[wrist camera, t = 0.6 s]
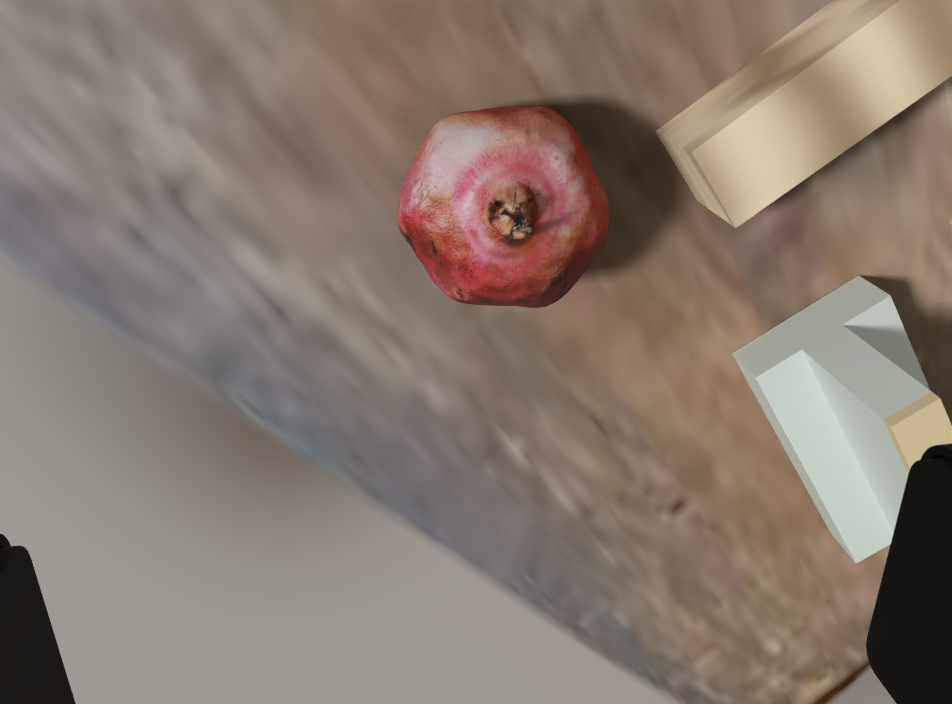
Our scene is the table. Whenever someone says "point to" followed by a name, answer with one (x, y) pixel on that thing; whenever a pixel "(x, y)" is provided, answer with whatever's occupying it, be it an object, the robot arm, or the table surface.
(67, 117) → the table surface
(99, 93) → the table surface
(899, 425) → the ridge stand
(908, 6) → the birch bar
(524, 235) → the fruit
